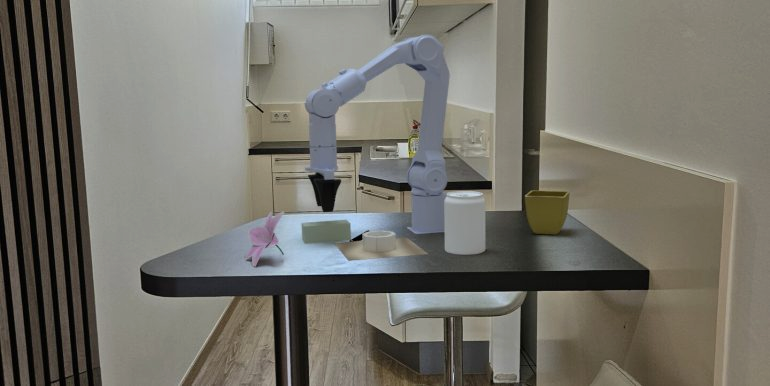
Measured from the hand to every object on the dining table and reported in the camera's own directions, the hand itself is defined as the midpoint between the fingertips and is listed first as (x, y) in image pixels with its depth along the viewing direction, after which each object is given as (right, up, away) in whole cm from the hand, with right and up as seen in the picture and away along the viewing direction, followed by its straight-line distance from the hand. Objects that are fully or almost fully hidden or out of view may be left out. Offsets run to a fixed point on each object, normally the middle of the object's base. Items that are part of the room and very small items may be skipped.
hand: (325, 208), depth 152 cm
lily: (-11, -10, -14) cm, 20 cm away
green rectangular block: (0, -8, +1) cm, 8 cm away
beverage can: (+29, -9, -11) cm, 32 cm away
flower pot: (+49, -6, +6) cm, 50 cm away
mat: (+12, -9, -8) cm, 17 cm away
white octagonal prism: (+12, -8, -8) cm, 17 cm away
